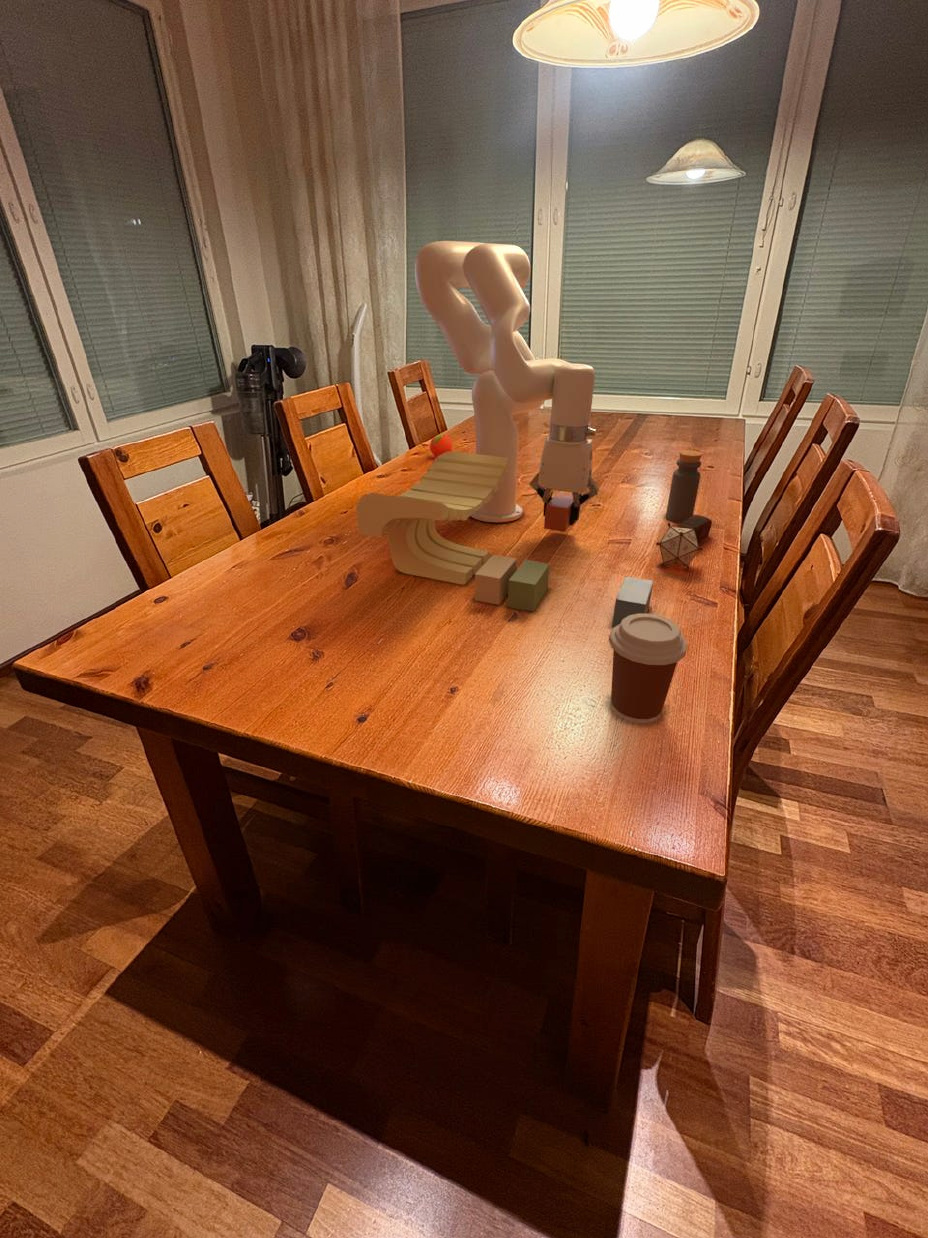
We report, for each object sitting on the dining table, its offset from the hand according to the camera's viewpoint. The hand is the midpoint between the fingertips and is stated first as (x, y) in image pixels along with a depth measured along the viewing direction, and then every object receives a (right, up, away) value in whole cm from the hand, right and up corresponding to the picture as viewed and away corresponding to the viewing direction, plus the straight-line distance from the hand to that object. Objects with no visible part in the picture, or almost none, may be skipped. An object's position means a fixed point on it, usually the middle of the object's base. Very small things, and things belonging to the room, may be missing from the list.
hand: (560, 520), depth 127 cm
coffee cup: (+2, -32, -49) cm, 59 cm away
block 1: (-15, -16, -20) cm, 30 cm away
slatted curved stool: (-25, -10, -10) cm, 29 cm away
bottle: (+29, +2, +13) cm, 32 cm away
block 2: (-9, -17, -22) cm, 30 cm away
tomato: (-27, +29, +59) cm, 71 cm away
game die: (+20, -11, -10) cm, 25 cm away
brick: (+28, -5, 0) cm, 28 cm away
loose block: (0, -1, 0) cm, 1 cm away
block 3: (+7, -20, -28) cm, 36 cm away
